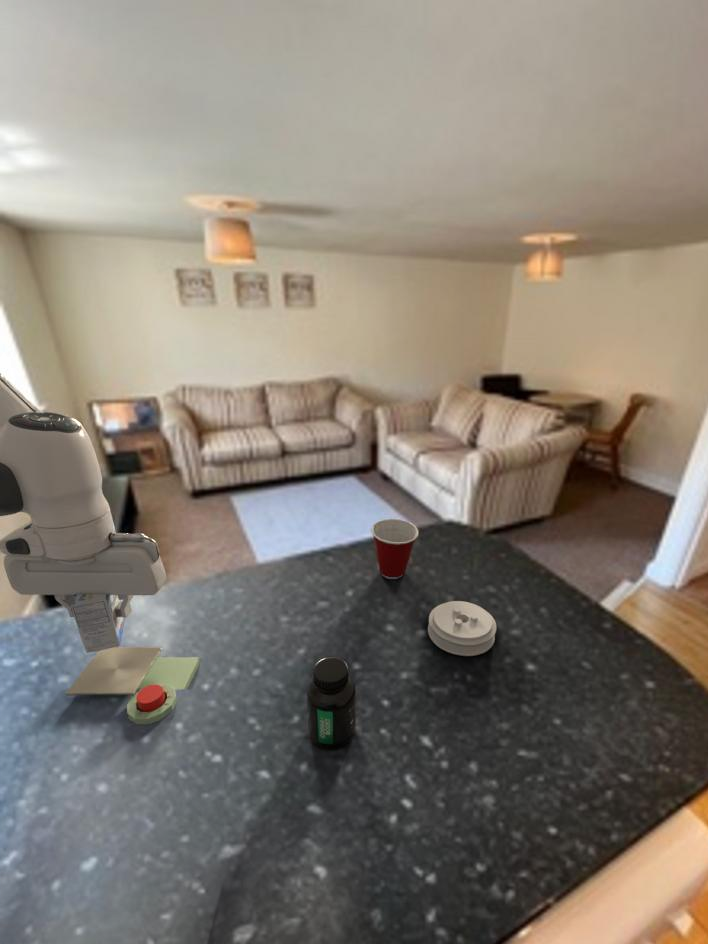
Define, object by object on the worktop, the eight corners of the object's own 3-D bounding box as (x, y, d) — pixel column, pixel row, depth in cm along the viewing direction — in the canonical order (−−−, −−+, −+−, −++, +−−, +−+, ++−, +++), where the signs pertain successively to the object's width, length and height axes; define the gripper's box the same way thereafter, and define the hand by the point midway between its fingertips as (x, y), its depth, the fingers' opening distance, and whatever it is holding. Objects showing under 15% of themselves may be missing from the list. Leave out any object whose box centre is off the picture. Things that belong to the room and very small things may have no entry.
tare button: (134, 712, 65) (131, 703, 64) (145, 692, 68) (143, 684, 67) (159, 712, 65) (157, 703, 64) (169, 692, 68) (167, 684, 68)
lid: (507, 648, 83) (511, 626, 81) (450, 668, 78) (453, 646, 76) (468, 610, 94) (471, 590, 92) (415, 625, 89) (417, 604, 87)
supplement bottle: (331, 761, 62) (329, 697, 57) (299, 732, 66) (294, 670, 61) (365, 729, 66) (366, 668, 61) (333, 704, 70) (331, 645, 65)
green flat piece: (53, 734, 64) (47, 719, 63) (106, 662, 77) (102, 648, 76) (168, 733, 65) (164, 718, 64) (201, 662, 78) (199, 649, 77)
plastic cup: (383, 591, 99) (385, 544, 94) (362, 568, 107) (362, 523, 102) (424, 579, 104) (428, 533, 99) (400, 558, 112) (403, 515, 107)
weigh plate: (66, 695, 67) (65, 693, 67) (102, 648, 76) (101, 647, 76) (134, 695, 67) (133, 693, 67) (162, 649, 76) (161, 647, 76)
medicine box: (120, 647, 66) (107, 598, 62) (85, 654, 64) (69, 605, 61) (126, 615, 73) (114, 570, 69) (94, 621, 71) (81, 575, 68)
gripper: (164, 523, 65) (179, 602, 70) (18, 522, 64) (46, 602, 70) (144, 545, 59) (163, 628, 65) (-17, 543, 58) (17, 628, 64)
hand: (101, 615), depth 67 cm, fingers closed on medicine box, 5 cm apart
